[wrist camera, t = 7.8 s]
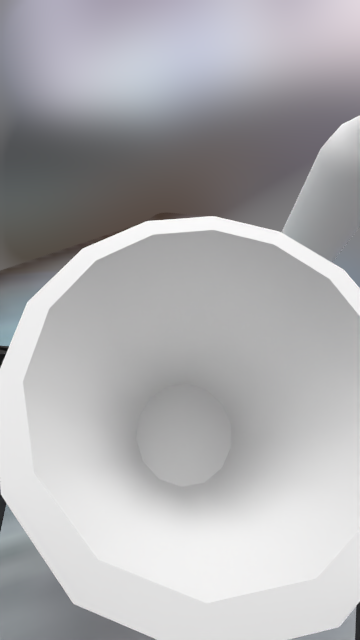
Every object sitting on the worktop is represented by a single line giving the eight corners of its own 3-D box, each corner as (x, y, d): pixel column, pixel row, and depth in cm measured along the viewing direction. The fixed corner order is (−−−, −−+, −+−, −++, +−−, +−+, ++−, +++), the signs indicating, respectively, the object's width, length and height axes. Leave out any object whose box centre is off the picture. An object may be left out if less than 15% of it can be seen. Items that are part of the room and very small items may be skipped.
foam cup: (124, 357, 20) (67, 204, 9) (251, 367, 20) (360, 227, 9) (95, 516, 15) (-110, 633, 4) (261, 530, 15) (522, 688, 4)
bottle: (252, 269, 45) (367, -11, 19) (292, 256, 47) (447, -18, 21) (279, 308, 42) (464, 30, 16) (321, 292, 43) (551, 18, 17)
